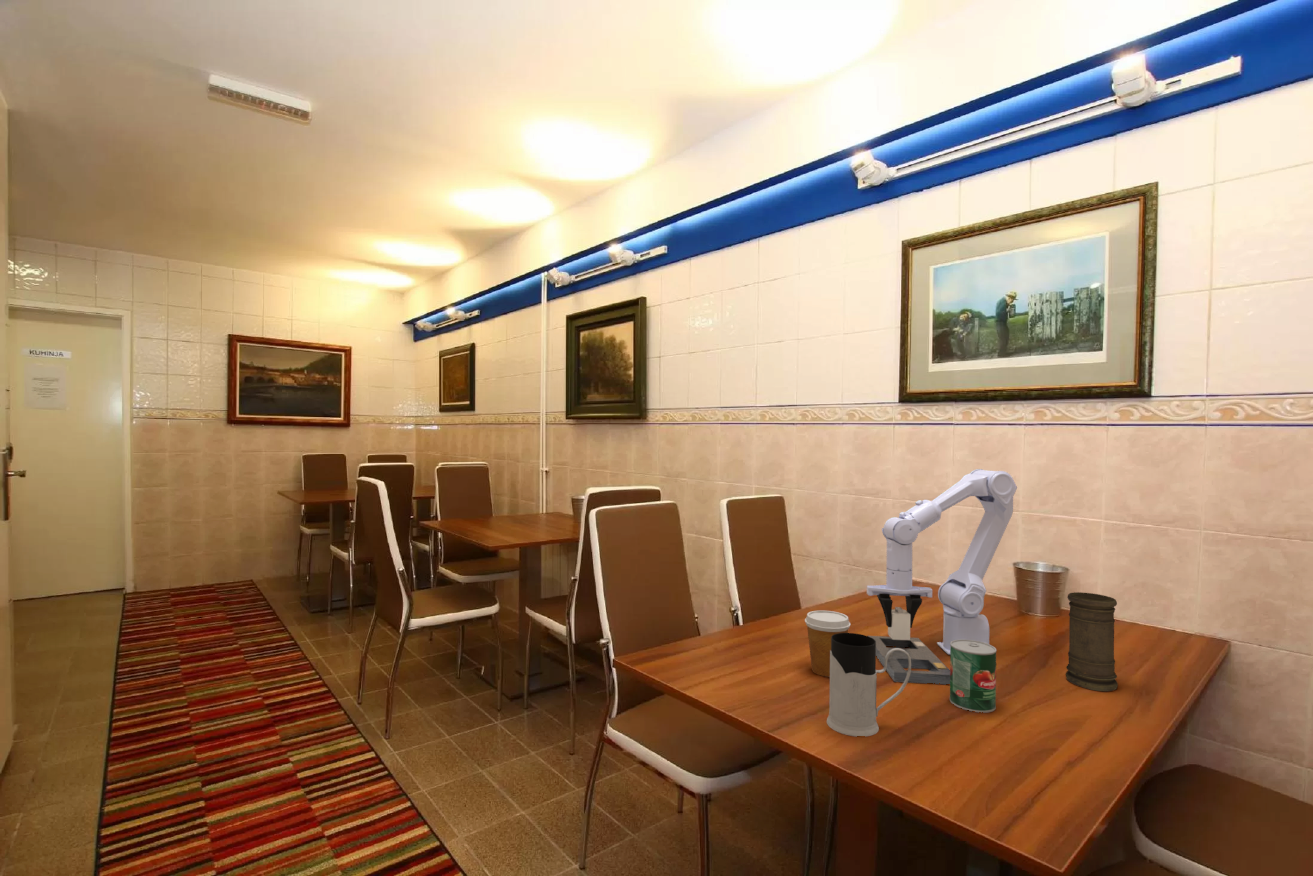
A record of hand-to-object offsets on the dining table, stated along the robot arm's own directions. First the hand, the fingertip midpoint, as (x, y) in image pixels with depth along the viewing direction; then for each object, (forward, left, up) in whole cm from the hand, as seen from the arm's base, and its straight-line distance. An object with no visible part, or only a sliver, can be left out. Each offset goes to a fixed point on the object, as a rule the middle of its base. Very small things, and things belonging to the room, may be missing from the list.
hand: (898, 626), depth 147 cm
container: (-35, +14, -6) cm, 38 cm away
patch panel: (0, +7, -6) cm, 9 cm away
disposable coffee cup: (+19, +15, -6) cm, 25 cm away
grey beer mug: (+16, +40, -6) cm, 44 cm away
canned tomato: (-6, +28, -6) cm, 29 cm away
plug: (0, 0, -3) cm, 3 cm away
